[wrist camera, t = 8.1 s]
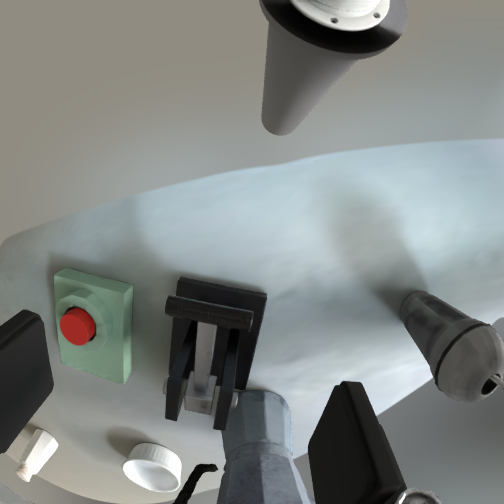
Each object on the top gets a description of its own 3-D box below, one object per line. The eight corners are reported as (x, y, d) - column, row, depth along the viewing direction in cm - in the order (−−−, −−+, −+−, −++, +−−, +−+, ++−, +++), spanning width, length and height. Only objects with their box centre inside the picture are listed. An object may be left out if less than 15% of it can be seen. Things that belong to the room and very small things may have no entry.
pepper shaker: (30, 430, 40) (4, 466, 29) (43, 426, 39) (15, 465, 29) (50, 449, 41) (27, 487, 31) (63, 446, 40) (39, 487, 30)
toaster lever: (172, 283, 18) (161, 312, 16) (255, 300, 19) (251, 330, 17) (174, 383, 25) (168, 406, 23) (230, 394, 26) (227, 418, 24)
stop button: (66, 303, 28) (58, 310, 27) (95, 312, 29) (87, 319, 27) (68, 332, 29) (61, 340, 28) (96, 342, 29) (89, 350, 28)
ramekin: (119, 446, 39) (110, 464, 35) (157, 433, 38) (150, 455, 34) (156, 476, 41) (150, 495, 37) (196, 466, 40) (192, 487, 35)
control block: (65, 267, 32) (44, 279, 27) (133, 284, 32) (117, 300, 28) (70, 352, 35) (54, 370, 30) (131, 372, 35) (119, 393, 31)
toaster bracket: (180, 276, 32) (142, 331, 20) (267, 293, 32) (271, 357, 21) (170, 369, 35) (142, 440, 23) (245, 384, 35) (241, 460, 24)
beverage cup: (382, 337, 33) (464, 464, 14) (396, 277, 31) (513, 384, 12) (432, 335, 33) (523, 440, 14) (447, 280, 31) (565, 366, 12)
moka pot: (313, 433, 37) (334, 559, 18) (201, 439, 38) (178, 561, 18) (313, 381, 35) (346, 527, 15) (186, 389, 35) (145, 529, 16)
